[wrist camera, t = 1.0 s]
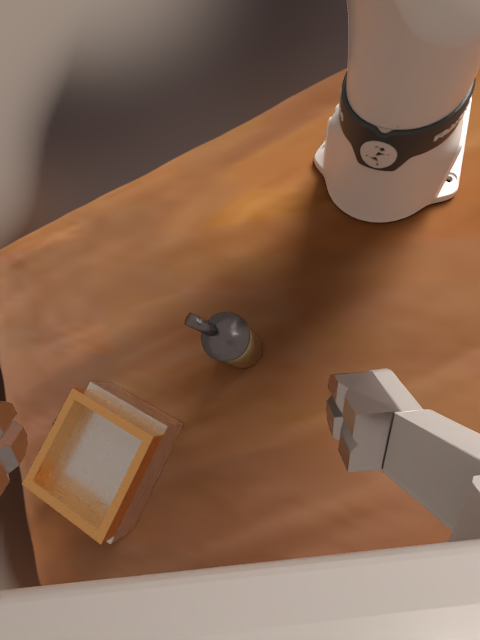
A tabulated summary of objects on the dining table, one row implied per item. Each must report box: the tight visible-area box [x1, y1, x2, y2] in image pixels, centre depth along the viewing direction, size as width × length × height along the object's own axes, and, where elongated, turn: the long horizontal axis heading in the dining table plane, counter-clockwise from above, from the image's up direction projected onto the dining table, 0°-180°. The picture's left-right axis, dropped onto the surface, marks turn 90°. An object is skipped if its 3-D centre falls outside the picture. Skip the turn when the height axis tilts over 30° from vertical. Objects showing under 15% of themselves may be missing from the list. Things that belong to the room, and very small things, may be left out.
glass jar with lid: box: [185, 312, 263, 368], centre depth 39 cm, size 5×7×12 cm
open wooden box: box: [22, 382, 184, 545], centre depth 42 cm, size 14×15×8 cm
